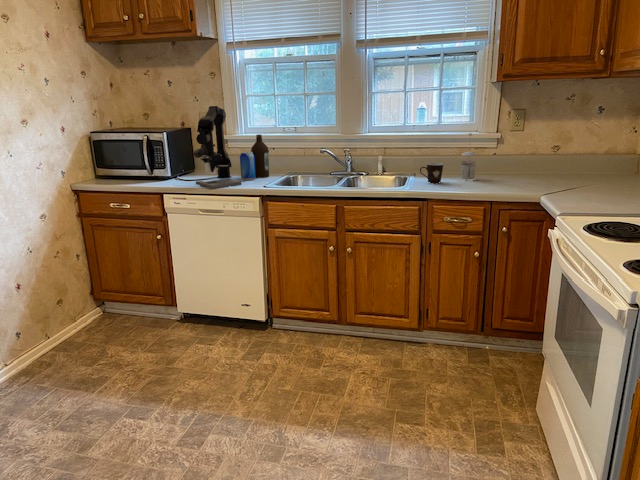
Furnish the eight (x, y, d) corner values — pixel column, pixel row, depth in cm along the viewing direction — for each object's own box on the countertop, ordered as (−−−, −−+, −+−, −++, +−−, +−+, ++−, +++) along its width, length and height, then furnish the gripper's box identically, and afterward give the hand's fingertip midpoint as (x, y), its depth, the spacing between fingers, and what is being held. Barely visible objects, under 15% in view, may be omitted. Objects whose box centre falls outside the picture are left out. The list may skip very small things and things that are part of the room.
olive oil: (250, 178, 287) (247, 135, 280) (255, 175, 297) (253, 134, 290) (267, 178, 285) (264, 135, 278) (272, 175, 295) (270, 133, 288)
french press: (474, 177, 269) (477, 132, 261) (479, 181, 258) (482, 134, 250) (456, 178, 270) (459, 132, 262) (460, 181, 259) (463, 134, 251)
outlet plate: (228, 181, 276) (228, 178, 276) (241, 184, 266) (241, 181, 265) (200, 186, 265) (199, 182, 265) (212, 189, 255) (211, 185, 254)
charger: (212, 172, 266) (211, 161, 265) (215, 173, 263) (214, 162, 262) (205, 173, 264) (204, 162, 262) (209, 174, 261) (207, 163, 259)
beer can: (258, 179, 282) (257, 151, 278) (247, 181, 276) (245, 153, 272) (249, 177, 288) (247, 151, 283) (238, 179, 282) (236, 152, 277)
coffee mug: (443, 181, 260) (444, 163, 257) (440, 184, 252) (441, 165, 249) (422, 180, 264) (423, 162, 261) (418, 183, 257) (419, 164, 254)
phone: (201, 182, 275) (201, 180, 275) (207, 184, 270) (206, 182, 270) (195, 183, 273) (195, 181, 273) (201, 185, 268) (201, 183, 268)
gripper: (186, 142, 261) (189, 171, 265) (202, 145, 247) (204, 175, 252) (205, 141, 268) (207, 169, 272) (221, 143, 254) (223, 172, 258)
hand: (210, 171), depth 263 cm, fingers closed on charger, 4 cm apart
